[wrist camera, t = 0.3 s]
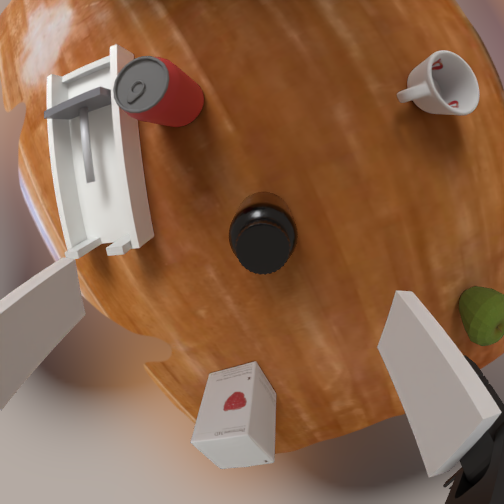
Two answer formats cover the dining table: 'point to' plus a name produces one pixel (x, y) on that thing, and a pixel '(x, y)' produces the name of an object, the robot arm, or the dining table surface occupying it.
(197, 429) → the supplement box
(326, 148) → the dining table surface
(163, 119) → the beer can
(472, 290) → the green rounded oval
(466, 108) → the cup
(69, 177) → the white open tray
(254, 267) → the supplement bottle
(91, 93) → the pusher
